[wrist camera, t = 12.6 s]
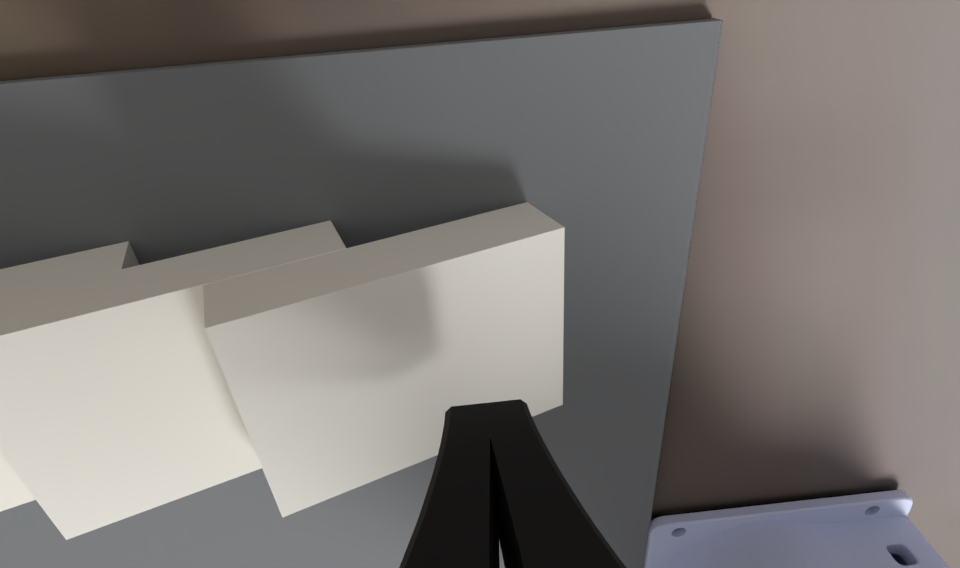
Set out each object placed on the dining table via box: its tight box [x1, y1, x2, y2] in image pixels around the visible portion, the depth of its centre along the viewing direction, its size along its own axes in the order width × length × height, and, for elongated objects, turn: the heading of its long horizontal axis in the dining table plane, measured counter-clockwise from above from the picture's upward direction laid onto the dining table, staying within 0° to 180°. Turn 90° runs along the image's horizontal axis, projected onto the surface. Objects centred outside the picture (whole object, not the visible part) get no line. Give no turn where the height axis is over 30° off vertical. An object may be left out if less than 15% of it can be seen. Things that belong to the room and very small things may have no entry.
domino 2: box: [203, 202, 565, 518], centre depth 12 cm, size 2×5×7 cm
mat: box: [0, 18, 723, 568], centre depth 16 cm, size 26×19×1 cm
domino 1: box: [0, 220, 346, 540], centre depth 12 cm, size 2×5×7 cm
